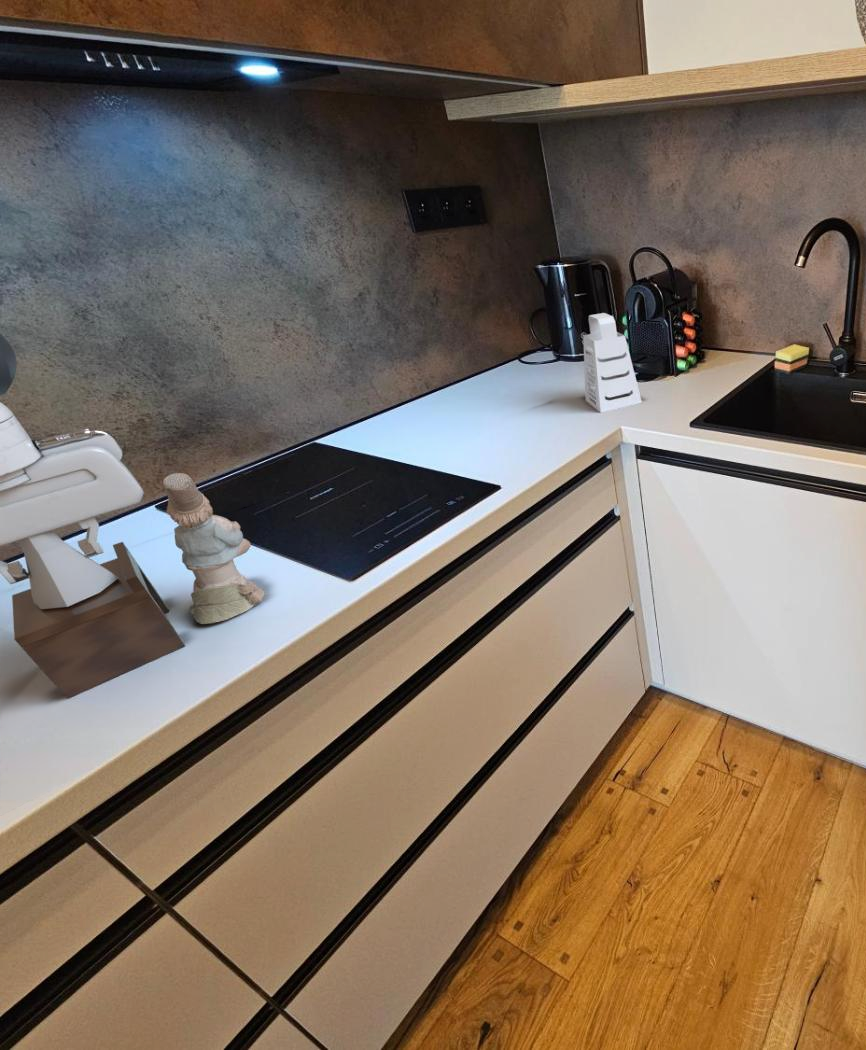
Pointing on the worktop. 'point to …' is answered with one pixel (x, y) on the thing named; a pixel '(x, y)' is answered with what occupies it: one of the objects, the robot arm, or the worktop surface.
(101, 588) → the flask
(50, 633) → the wooden block with backboard
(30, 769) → the worktop surface
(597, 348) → the grater
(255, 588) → the figurine
